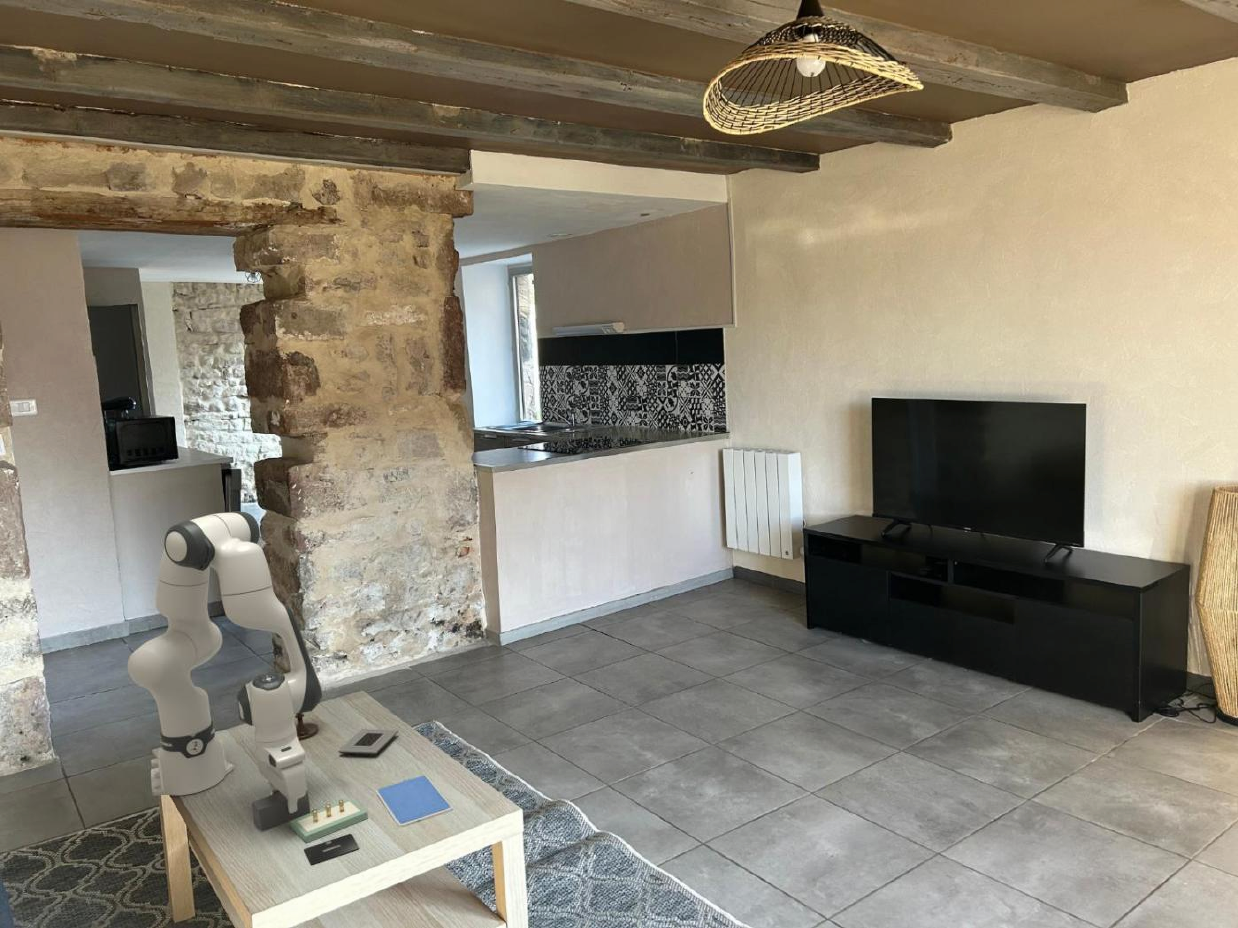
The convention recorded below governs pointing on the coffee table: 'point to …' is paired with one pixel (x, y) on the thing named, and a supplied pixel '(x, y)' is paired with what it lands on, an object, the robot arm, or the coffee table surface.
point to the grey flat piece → (368, 741)
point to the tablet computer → (413, 801)
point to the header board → (328, 819)
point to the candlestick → (304, 725)
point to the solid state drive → (331, 849)
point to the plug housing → (277, 810)
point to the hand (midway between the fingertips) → (284, 803)
